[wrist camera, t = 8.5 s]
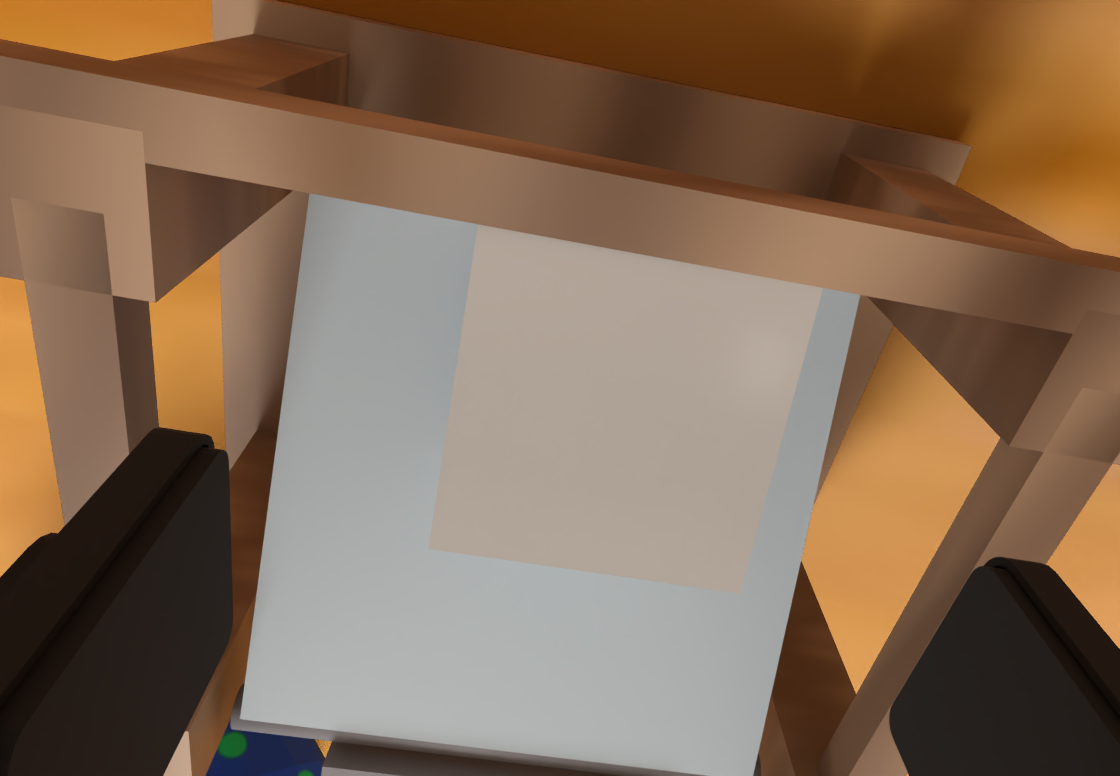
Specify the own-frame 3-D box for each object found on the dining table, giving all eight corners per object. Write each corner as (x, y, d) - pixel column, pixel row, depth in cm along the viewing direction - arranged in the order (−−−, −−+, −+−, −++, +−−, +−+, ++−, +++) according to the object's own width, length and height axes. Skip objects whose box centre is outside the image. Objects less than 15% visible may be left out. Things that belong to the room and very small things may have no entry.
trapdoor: (845, 284, 18) (878, 284, 16) (714, 878, 20) (732, 930, 18) (317, 186, 17) (297, 175, 15) (231, 825, 19) (206, 876, 17)
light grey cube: (731, 254, 16) (824, 286, 11) (678, 476, 17) (739, 594, 12) (493, 210, 15) (477, 222, 10) (456, 442, 16) (428, 548, 12)
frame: (958, 141, 21) (1334, 300, 11) (773, 568, 28) (891, 898, 18) (223, -11, 19) (-159, 8, 9) (236, 489, 27) (37, 805, 17)
